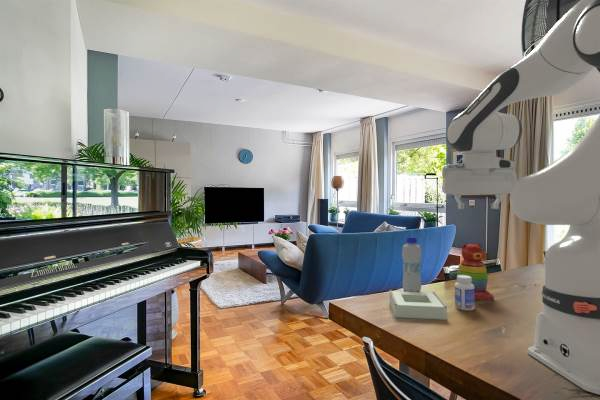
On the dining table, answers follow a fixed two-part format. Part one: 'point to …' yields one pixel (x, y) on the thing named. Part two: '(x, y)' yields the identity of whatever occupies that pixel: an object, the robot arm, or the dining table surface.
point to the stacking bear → (475, 270)
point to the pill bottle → (464, 293)
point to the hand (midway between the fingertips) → (477, 209)
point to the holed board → (417, 305)
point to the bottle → (411, 266)
